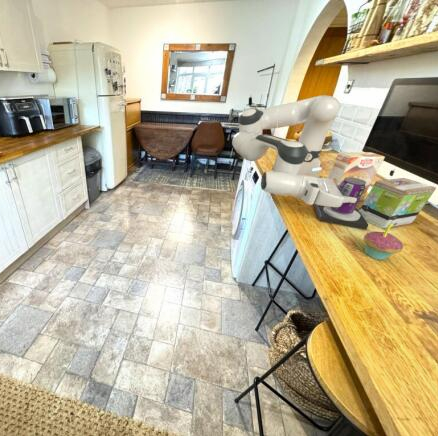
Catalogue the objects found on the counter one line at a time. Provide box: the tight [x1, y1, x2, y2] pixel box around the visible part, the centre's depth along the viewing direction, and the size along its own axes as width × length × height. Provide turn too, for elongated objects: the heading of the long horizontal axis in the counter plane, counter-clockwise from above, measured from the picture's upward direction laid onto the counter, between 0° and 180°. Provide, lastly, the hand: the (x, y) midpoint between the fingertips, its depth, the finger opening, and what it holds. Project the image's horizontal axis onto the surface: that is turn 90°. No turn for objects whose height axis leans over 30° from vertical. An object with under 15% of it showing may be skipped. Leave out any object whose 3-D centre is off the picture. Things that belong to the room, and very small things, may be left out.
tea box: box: [358, 177, 437, 229], centre depth 86 cm, size 15×10×15 cm, turn 107°
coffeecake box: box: [327, 151, 386, 202], centre depth 101 cm, size 15×7×20 cm, turn 95°
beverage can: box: [331, 177, 366, 214], centre depth 86 cm, size 7×7×12 cm
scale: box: [313, 203, 369, 231], centre depth 90 cm, size 14×14×3 cm
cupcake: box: [363, 221, 404, 261], centre depth 68 cm, size 9×8×12 cm
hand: (352, 194), depth 85 cm, fingers open, 8 cm apart
